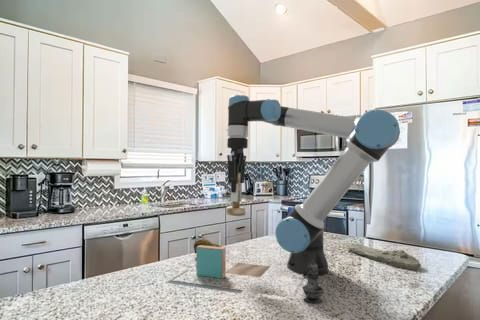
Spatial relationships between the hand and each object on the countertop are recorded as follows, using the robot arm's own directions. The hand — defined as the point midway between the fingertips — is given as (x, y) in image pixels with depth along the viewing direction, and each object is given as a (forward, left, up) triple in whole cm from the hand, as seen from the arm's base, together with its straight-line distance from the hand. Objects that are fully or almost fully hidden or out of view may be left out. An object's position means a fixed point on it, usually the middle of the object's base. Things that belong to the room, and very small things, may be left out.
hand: (235, 200), depth 126 cm
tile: (+5, +10, -25) cm, 28 cm away
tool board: (-5, -1, -26) cm, 26 cm away
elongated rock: (-51, -37, -27) cm, 68 cm away
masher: (0, 0, -5) cm, 5 cm away
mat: (+3, +14, -26) cm, 30 cm away
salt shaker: (-31, +17, -26) cm, 44 cm away
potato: (+17, -13, -26) cm, 34 cm away
